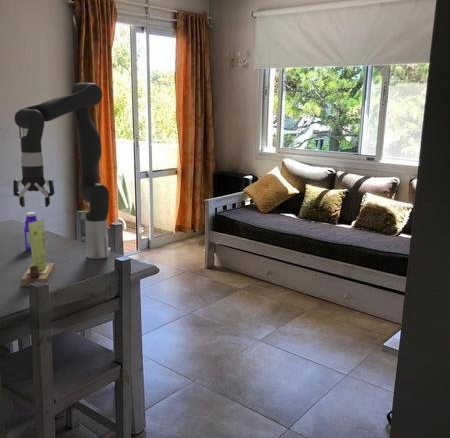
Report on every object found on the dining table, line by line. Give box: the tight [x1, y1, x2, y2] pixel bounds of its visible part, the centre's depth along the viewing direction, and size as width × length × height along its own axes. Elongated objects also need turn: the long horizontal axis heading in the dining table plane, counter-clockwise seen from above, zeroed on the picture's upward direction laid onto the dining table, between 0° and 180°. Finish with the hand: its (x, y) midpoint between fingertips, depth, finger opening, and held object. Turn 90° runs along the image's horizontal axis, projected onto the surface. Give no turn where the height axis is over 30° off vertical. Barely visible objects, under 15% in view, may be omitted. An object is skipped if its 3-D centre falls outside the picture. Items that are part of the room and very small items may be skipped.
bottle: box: [23, 211, 38, 252], centre depth 222 cm, size 7×6×17 cm
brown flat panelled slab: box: [20, 262, 56, 286], centre depth 189 cm, size 9×18×7 cm, turn 9°
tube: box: [28, 218, 47, 270], centre depth 187 cm, size 6×5×20 cm
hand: (35, 206), depth 184 cm, fingers open, 8 cm apart
